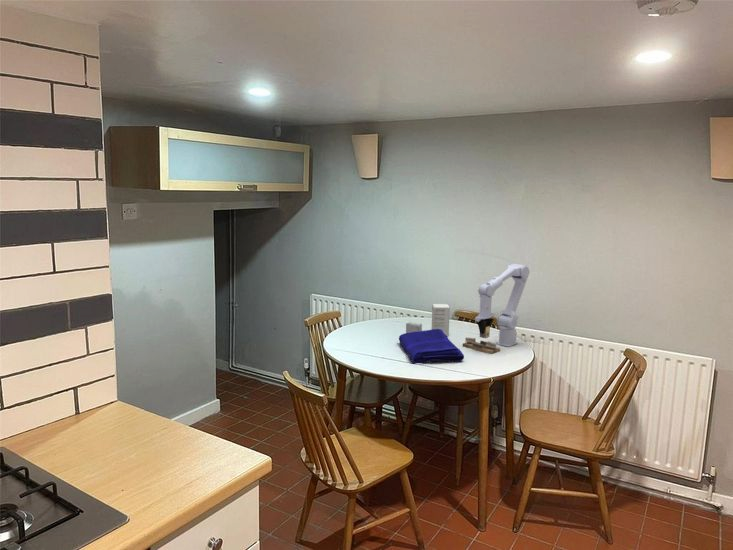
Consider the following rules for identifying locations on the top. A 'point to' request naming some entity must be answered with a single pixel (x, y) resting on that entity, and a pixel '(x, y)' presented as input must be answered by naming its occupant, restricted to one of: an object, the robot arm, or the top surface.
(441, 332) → the towel
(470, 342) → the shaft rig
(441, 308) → the supplement box
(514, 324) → the robot arm
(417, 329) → the medicine box
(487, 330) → the wooden block with knob
